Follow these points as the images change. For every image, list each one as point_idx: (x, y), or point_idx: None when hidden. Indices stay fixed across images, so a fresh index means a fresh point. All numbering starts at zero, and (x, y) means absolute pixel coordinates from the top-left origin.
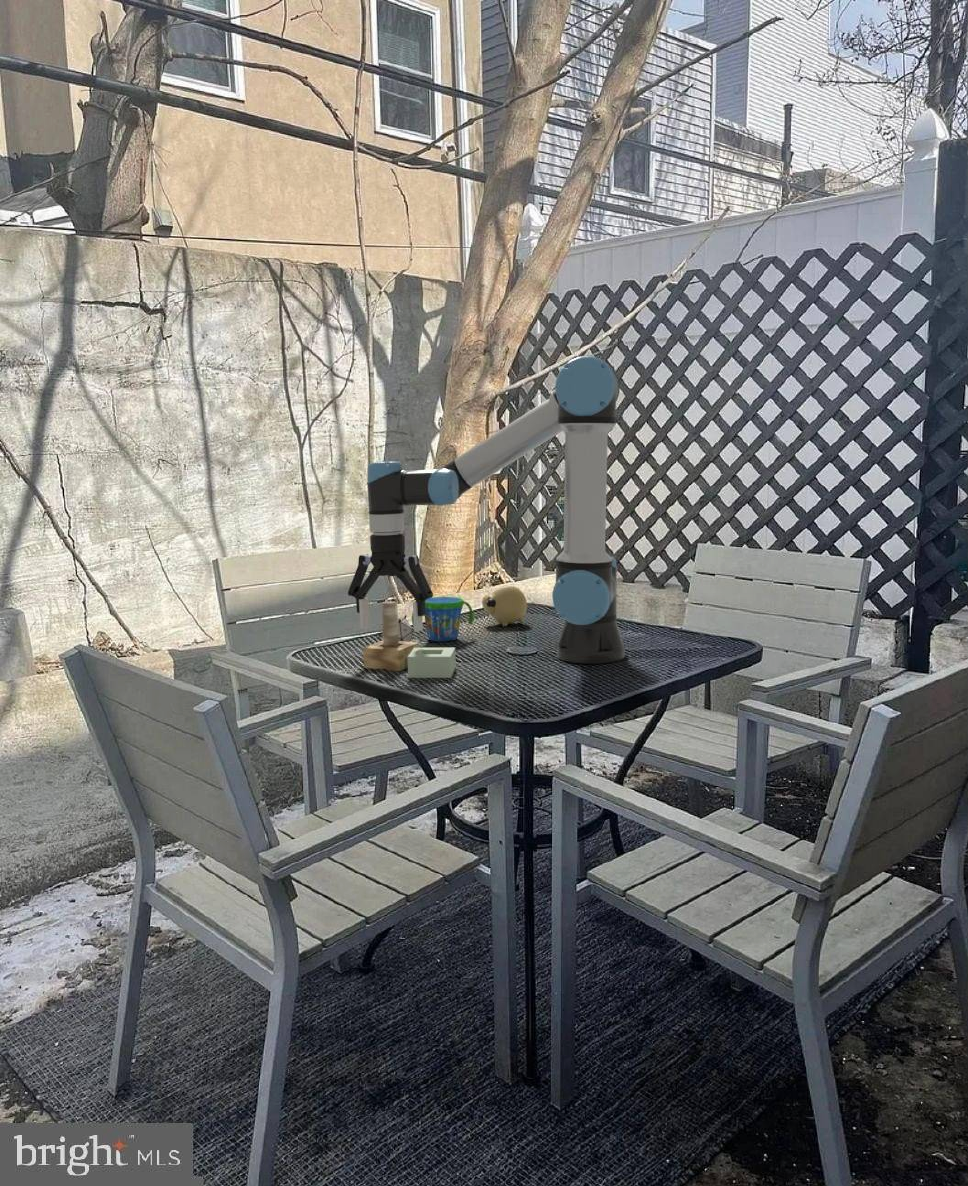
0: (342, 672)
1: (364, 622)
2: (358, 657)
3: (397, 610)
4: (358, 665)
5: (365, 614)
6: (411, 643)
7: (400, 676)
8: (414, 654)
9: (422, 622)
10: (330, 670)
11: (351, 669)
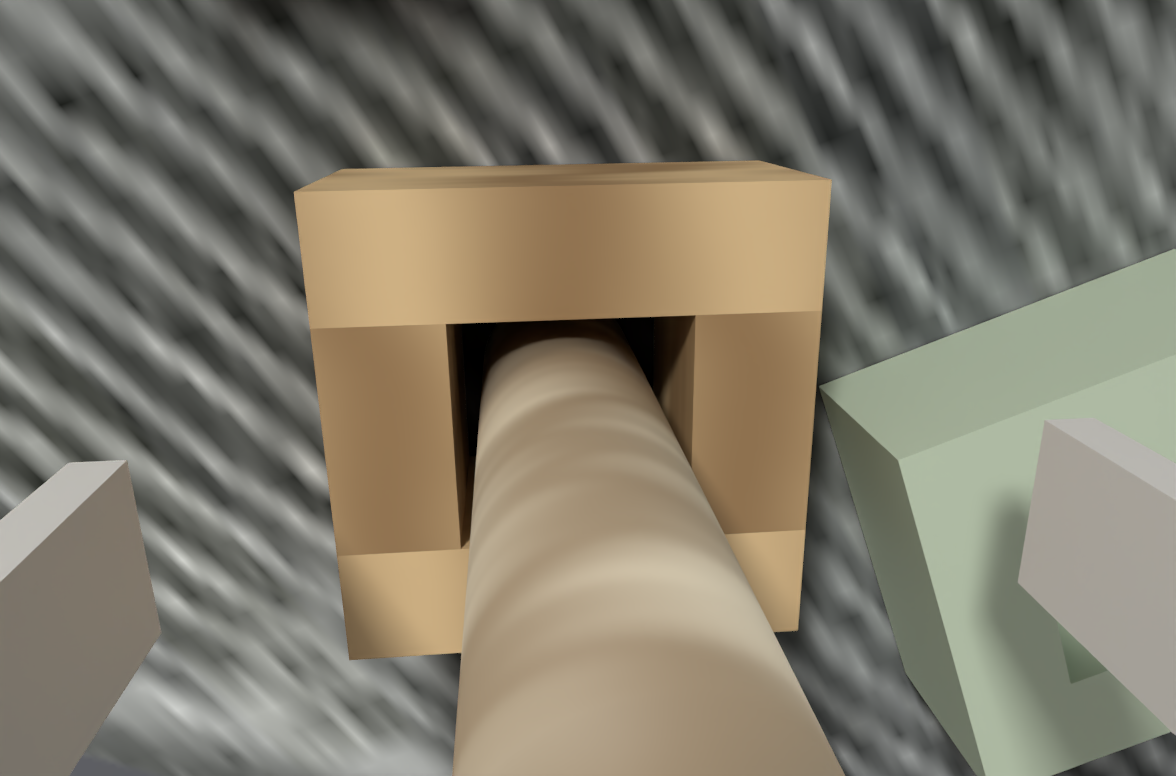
0: (314, 727)
1: (115, 650)
2: (4, 191)
3: (779, 645)
4: (268, 489)
5: (34, 698)
6: (767, 269)
7: (827, 657)
8: (1021, 708)
9: (1172, 467)
10: (169, 715)
11: (313, 626)
